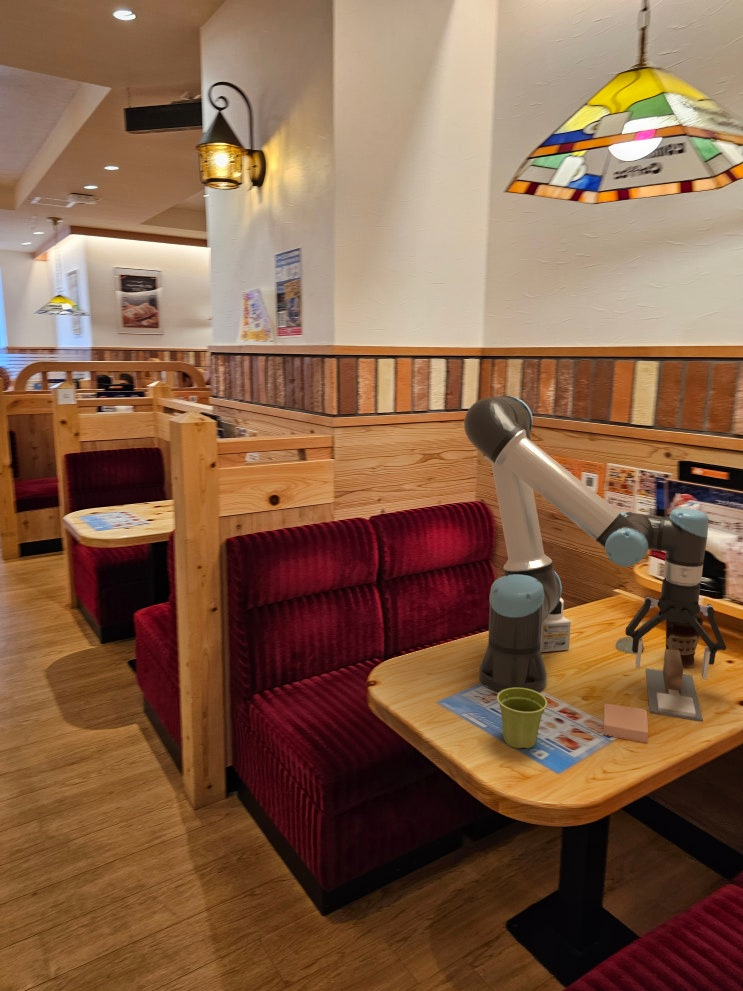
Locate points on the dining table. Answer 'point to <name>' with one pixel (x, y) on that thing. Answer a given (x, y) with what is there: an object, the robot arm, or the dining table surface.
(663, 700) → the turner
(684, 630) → the coffee cup
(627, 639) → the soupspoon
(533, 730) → the plant pot
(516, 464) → the robot arm
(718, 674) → the dining table surface
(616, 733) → the tile
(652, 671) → the mat
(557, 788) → the dining table surface
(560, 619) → the container
